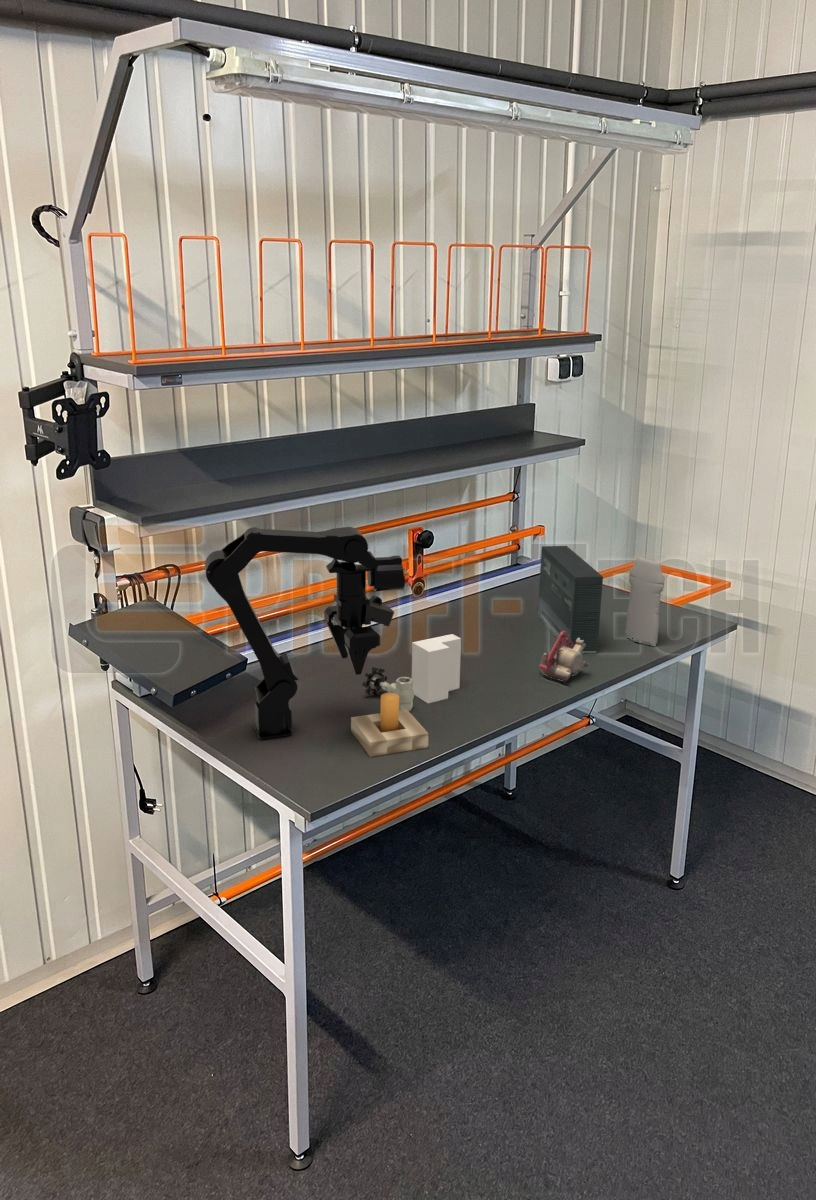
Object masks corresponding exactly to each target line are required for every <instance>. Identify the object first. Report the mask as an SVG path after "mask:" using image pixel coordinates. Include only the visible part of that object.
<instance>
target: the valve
mask: <svg viewBox="0 0 816 1200" xmlns="http://www.w3.org/2000/svg"><path fill="white" fill-rule="evenodd" d="M385 672H386V671H385V668H383V667H380V668H378V667H377V666H373V667H372V668H371V672H366V673H365V674H364V677H365V678H366V681H363V682H362V684H361V686H362V687H363V688H366V689H365V690H364V693H365V694H366V695H369V696H370V695H373V696H375V697H376V696H378V694H379V692H380V691H385V692H386V691H387V693H395V694H397V695H399V710H404V709H407V710H408V711H409V712H411V710H412V709H413V707H414V706H413V703H414V702H413V700H414V697H415V695H414V691H413V688H412V687H413V679H412V677H409V676H401V677H397V679H396V680H395V682H391V683H389V682H387V680H388V676H386V675H384V674H385ZM376 675H377V676H378V677H375V676H376ZM371 685H373V686H374V687H371Z"/></svg>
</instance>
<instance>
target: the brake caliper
mask: <svg viewBox="0 0 816 1200" xmlns="http://www.w3.org/2000/svg"><path fill="white" fill-rule="evenodd" d="M565 640H566V642H565ZM583 642H584V640H580V638H577V640H576V644H575V645H574V644H573V642H572V641H571V639H570V638H569V636H568V635H567V634H566V632H565V631H562V632H561V633H560V634H559V637H558V639H556V640H555V643H554V644H553V646H552V648H551V649H550V652H549V654H547V653H546V652H544V653H543V654H542V656H541V659H540V662H539V666H538V667H539V671H541V673H544V674H546V675H548V676H549V677H552V678H555V679H560V680H563V681H566V682H567V681H569V679H570V678H571V677H570V676H572V675H575V674H576V675H578V674H579V673H580V672H581V671H582V670H583V669H584V668H587V667H588V666H589V665H590V663H588V662H587V661H586V660H584V659H583V654H581V652H582V650H583V649H584V647H585V646H586V645H585V643H583ZM576 675H575V676H576ZM549 677H548V678H549ZM569 677H570V678H569ZM572 677H573V676H572ZM552 678H551V679H552Z"/></svg>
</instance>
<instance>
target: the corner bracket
mask: <svg viewBox="0 0 816 1200" xmlns="http://www.w3.org/2000/svg"><path fill="white" fill-rule="evenodd" d="M461 647H462V638H461V637H459V636H457V635H455V634H453V633H451V634H446V635H442V636H437V637H432V638H428V639H427V638H426V639H422V640H417V641H412V642H411V654H412V655H411V679H413V687H412V688H413V691H414V696H416V697H417V698H419V699H420V700H422V701H424V702H425V703H426V704H431V703H436V702H439V701H444V700H448V699H449V692H450V691H454V690H458V689H460V683H461V682H460V681H461V678H460V677H461V676H460V675H461V653H462V650H461V649H462V648H461Z"/></svg>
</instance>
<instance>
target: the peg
mask: <svg viewBox="0 0 816 1200" xmlns="http://www.w3.org/2000/svg"><path fill="white" fill-rule="evenodd" d="M398 718H399V695H397V694H395V693H388V692H385V693H382V694H381V695H380V732H381V733H382V732H389V731H395V730H398Z"/></svg>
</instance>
